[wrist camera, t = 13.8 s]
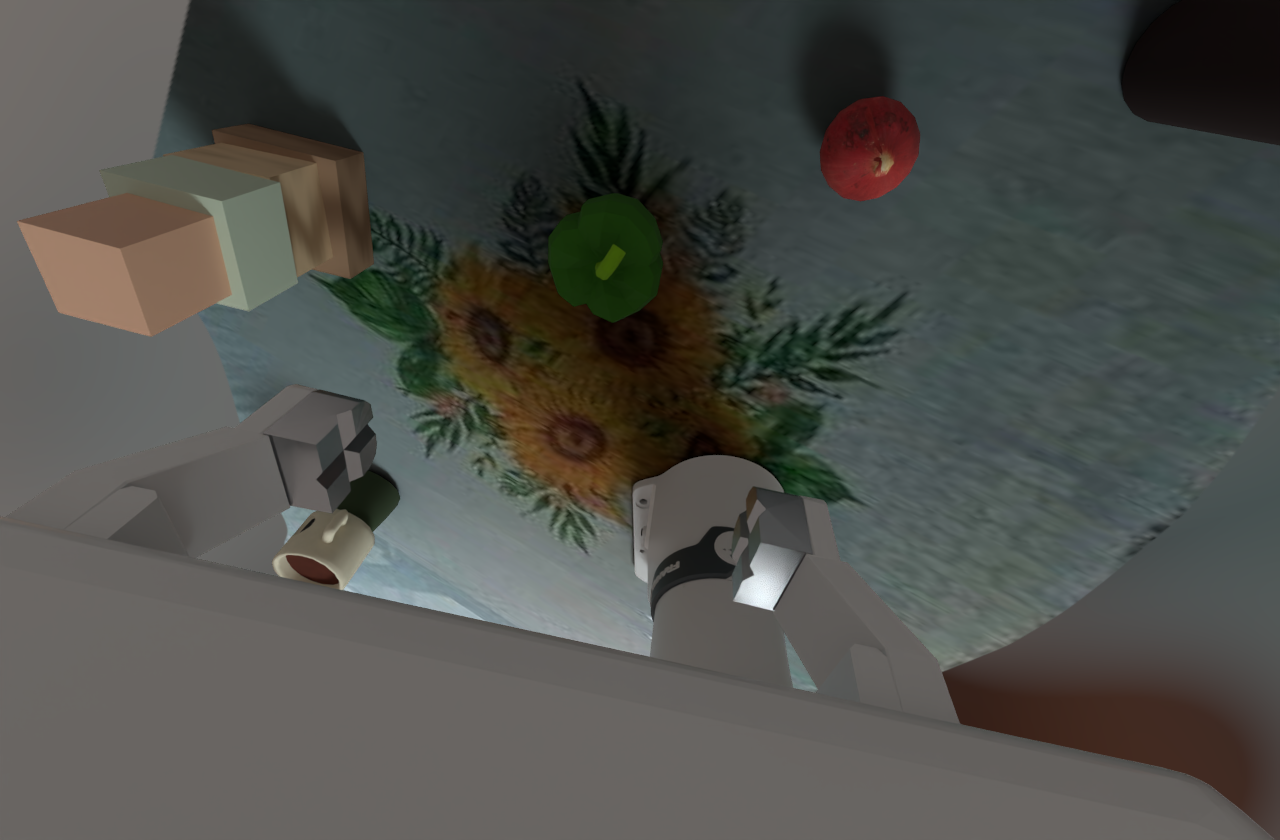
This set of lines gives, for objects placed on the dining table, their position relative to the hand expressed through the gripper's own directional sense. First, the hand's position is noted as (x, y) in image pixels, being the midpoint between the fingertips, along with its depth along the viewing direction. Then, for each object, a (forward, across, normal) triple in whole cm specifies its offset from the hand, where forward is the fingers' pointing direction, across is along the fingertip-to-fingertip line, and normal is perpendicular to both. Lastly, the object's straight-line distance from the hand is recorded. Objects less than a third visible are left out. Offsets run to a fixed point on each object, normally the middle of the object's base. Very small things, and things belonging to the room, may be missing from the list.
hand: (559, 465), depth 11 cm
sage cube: (+26, +28, +8) cm, 39 cm away
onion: (+34, -12, -4) cm, 37 cm away
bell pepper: (+34, +3, +6) cm, 35 cm away
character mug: (+34, +27, +41) cm, 60 cm away
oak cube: (+31, +29, +8) cm, 43 cm away
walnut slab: (+35, +28, +8) cm, 45 cm away
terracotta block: (+21, +28, +8) cm, 36 cm away
